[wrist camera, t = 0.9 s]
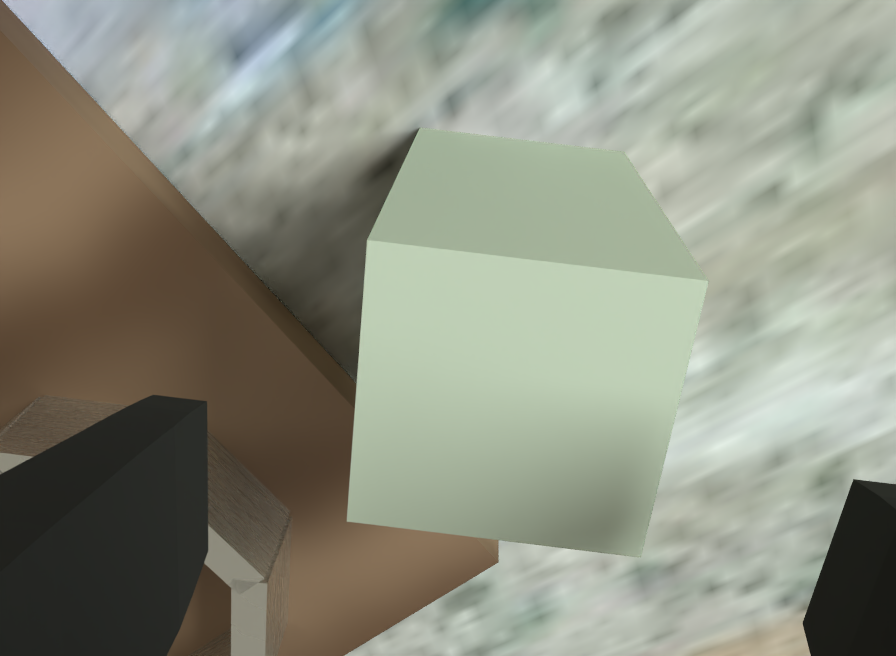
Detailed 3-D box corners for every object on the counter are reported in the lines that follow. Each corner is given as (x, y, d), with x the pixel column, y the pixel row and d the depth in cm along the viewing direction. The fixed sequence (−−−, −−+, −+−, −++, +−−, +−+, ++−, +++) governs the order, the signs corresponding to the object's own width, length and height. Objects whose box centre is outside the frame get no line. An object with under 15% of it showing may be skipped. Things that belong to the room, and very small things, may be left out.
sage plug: (588, 338, 20) (640, 557, 13) (402, 315, 20) (346, 521, 13) (624, 152, 18) (709, 281, 11) (419, 127, 18) (367, 239, 11)
